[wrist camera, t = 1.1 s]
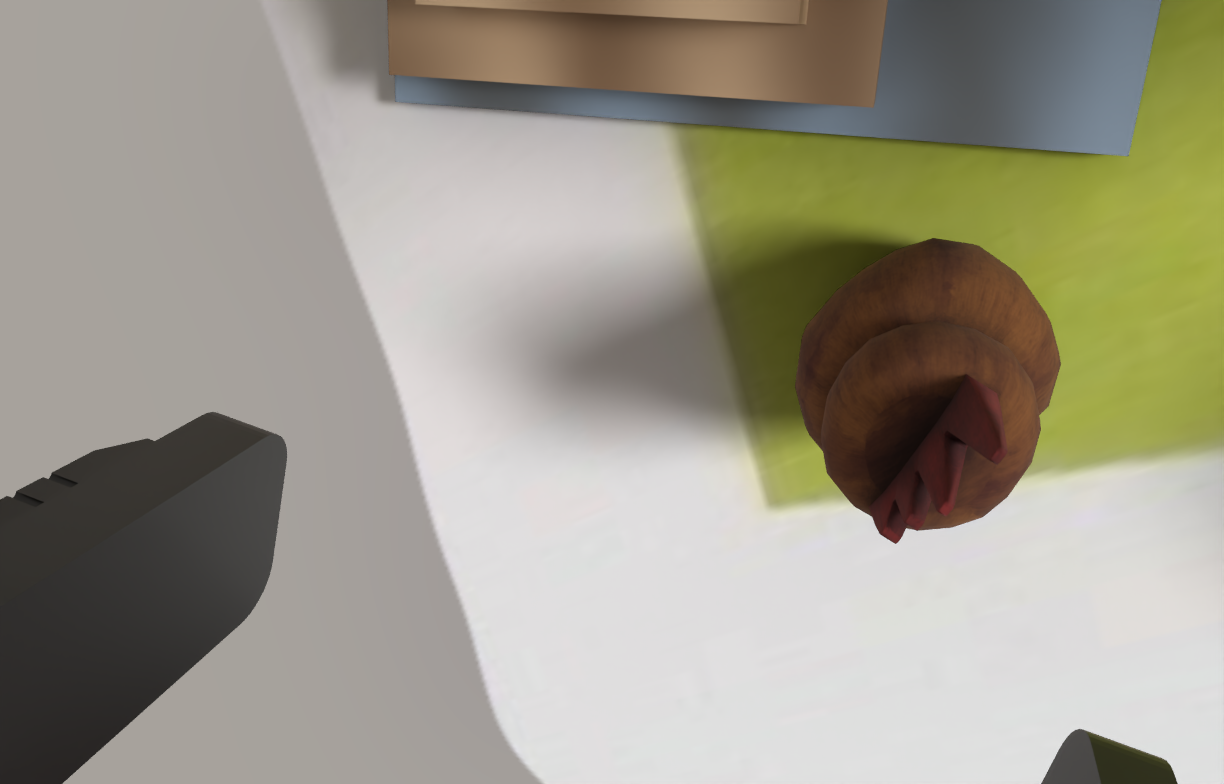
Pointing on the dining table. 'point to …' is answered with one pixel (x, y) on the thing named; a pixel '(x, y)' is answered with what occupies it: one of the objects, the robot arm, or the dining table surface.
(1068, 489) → the dining table surface
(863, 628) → the dining table surface
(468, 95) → the board
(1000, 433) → the wooden figurine
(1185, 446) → the dining table surface
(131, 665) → the robot arm
